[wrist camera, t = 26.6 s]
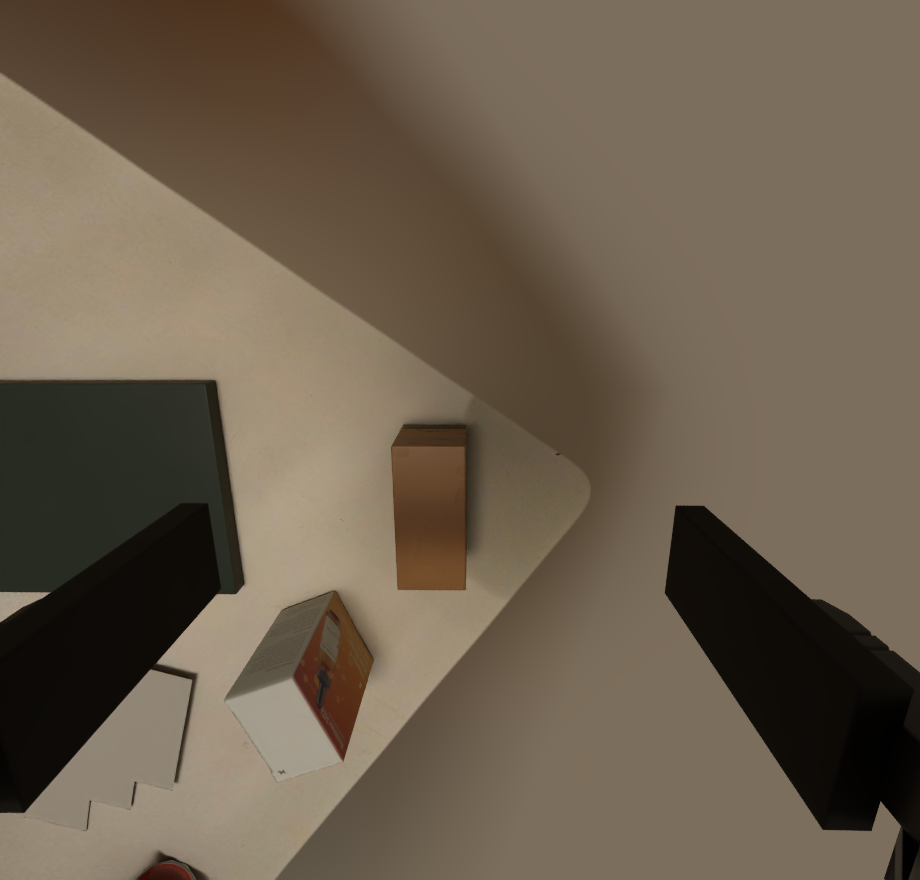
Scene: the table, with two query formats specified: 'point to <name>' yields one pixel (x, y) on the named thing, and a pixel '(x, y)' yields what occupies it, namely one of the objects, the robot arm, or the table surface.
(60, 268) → the table surface
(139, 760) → the paper stack
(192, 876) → the beverage can
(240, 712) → the small box
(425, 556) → the brown rectangular block
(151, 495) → the chalkboard
